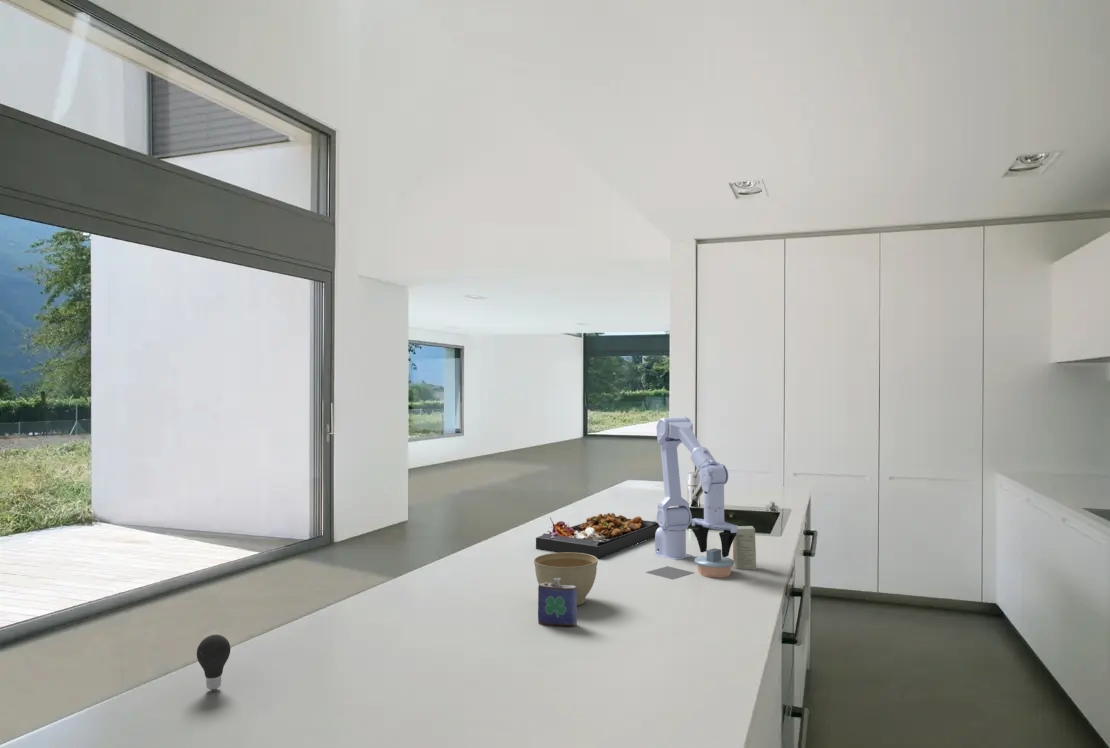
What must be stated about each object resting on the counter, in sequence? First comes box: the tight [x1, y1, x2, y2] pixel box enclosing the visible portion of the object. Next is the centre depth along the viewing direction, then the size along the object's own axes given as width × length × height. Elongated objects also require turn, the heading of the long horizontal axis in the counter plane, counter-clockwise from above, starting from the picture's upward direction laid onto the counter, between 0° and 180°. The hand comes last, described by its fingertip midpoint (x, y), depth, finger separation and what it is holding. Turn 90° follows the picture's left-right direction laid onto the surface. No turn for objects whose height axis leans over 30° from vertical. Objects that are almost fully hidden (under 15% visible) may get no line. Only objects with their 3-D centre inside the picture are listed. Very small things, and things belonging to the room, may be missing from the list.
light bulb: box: [196, 634, 231, 692], centre depth 133 cm, size 6×6×10 cm
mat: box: [644, 566, 695, 580], centre depth 211 cm, size 10×10×1 cm
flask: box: [537, 578, 578, 628], centre depth 168 cm, size 9×3×11 cm, turn 74°
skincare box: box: [732, 525, 757, 571], centre depth 217 cm, size 6×4×12 cm
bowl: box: [697, 564, 732, 578], centre depth 210 cm, size 9×9×3 cm
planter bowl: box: [533, 552, 599, 606], centre depth 185 cm, size 16×16×11 cm
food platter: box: [535, 512, 660, 560], centre depth 254 cm, size 45×25×10 cm, turn 145°
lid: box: [694, 548, 734, 567], centre depth 210 cm, size 11×11×4 cm
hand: (714, 554), depth 210 cm, fingers open, 7 cm apart
